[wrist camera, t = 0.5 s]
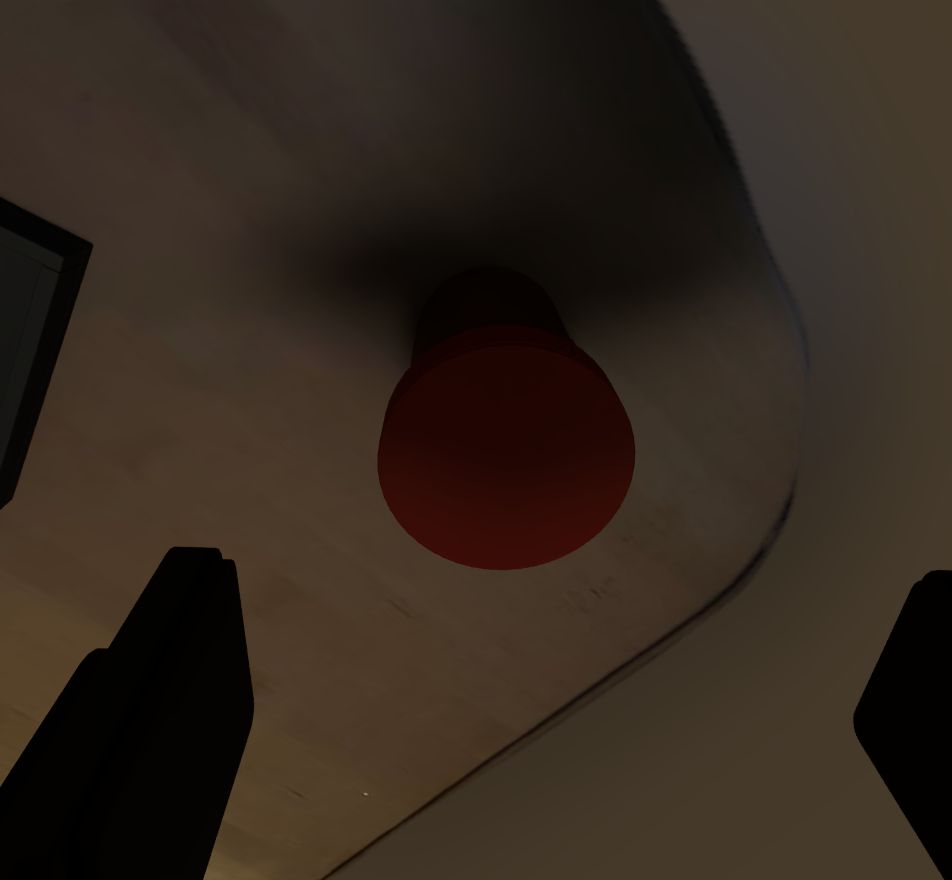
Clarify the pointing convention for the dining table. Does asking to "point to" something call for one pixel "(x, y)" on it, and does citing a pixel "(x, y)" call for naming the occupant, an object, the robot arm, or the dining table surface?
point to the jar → (484, 306)
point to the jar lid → (505, 448)
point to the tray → (31, 324)
